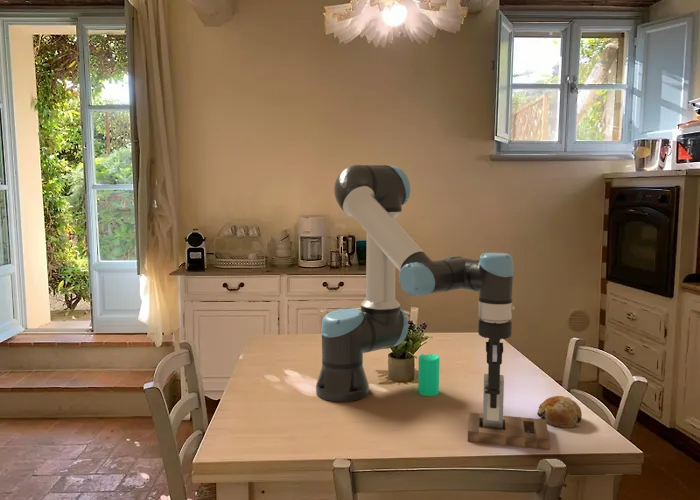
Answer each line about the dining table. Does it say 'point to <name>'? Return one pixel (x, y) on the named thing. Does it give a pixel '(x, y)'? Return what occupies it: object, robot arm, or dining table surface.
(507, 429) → the socket block
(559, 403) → the bread roll
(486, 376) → the square bit
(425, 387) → the candle
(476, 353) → the dining table surface
